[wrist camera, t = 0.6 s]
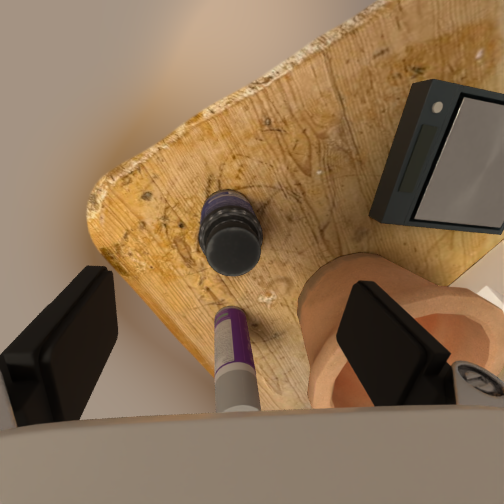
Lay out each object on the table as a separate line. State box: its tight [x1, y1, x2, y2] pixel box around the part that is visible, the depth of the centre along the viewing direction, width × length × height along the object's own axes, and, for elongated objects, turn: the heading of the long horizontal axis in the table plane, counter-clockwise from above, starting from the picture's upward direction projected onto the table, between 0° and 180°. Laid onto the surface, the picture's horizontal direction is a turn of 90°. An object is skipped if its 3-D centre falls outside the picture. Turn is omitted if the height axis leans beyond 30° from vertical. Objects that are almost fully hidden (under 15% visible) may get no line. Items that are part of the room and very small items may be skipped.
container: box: [215, 306, 261, 413], centre depth 32 cm, size 5×5×15 cm
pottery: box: [297, 253, 504, 409], centre depth 34 cm, size 22×22×14 cm
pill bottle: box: [199, 190, 263, 276], centre depth 27 cm, size 6×6×11 cm
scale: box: [369, 79, 504, 235], centre depth 31 cm, size 18×15×3 cm
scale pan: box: [411, 97, 504, 228], centre depth 31 cm, size 13×13×1 cm
